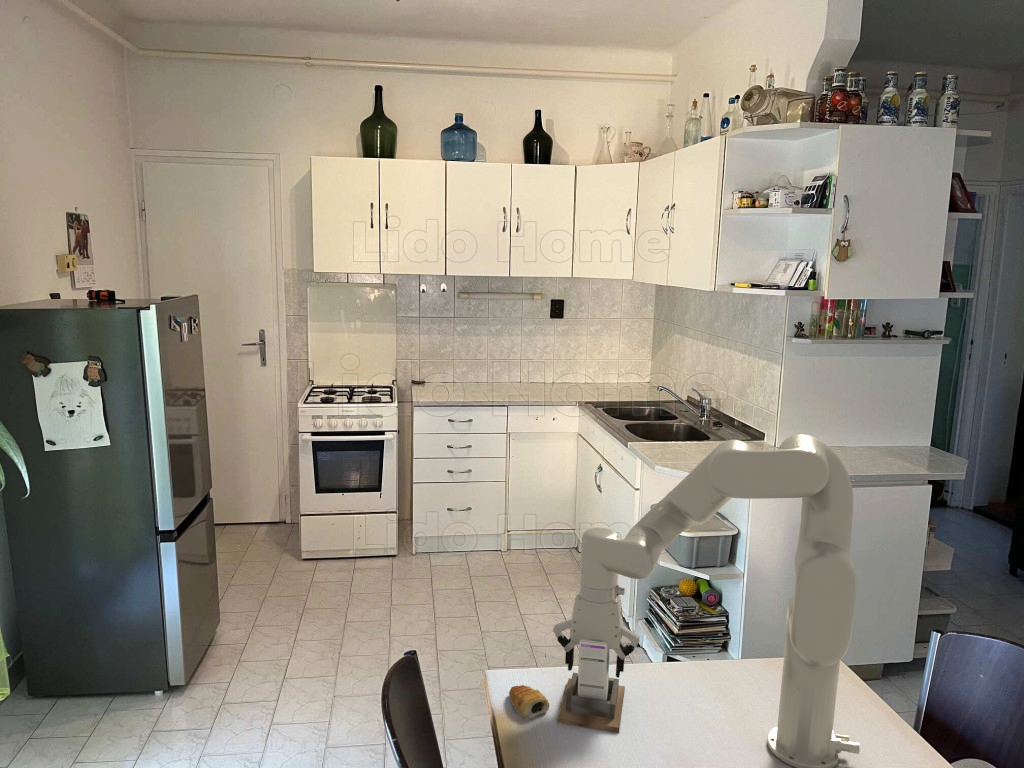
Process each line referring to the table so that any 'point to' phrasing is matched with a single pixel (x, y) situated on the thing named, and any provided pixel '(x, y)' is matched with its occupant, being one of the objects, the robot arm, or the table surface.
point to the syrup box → (593, 669)
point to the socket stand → (592, 707)
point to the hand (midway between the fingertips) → (594, 670)
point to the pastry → (528, 701)
